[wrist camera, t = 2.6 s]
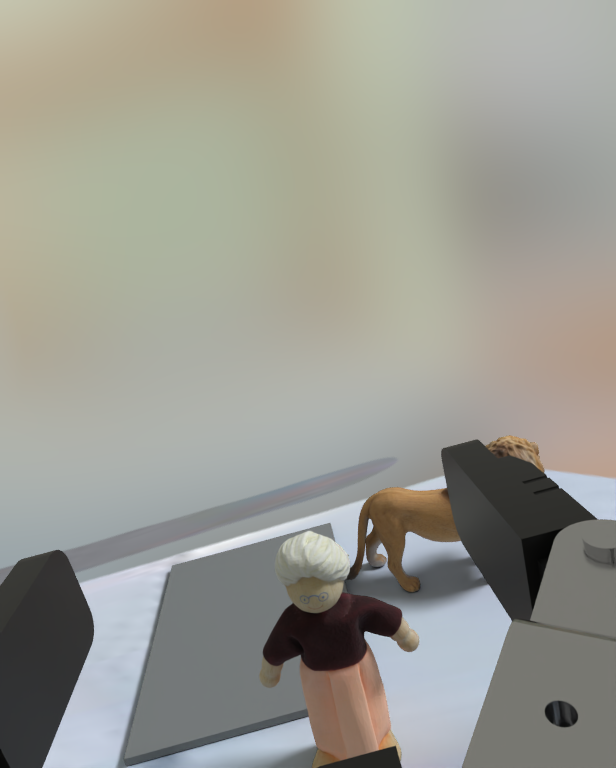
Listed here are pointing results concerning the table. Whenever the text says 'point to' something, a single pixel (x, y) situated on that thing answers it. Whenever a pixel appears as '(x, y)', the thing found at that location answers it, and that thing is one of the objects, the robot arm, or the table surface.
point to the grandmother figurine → (333, 649)
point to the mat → (216, 654)
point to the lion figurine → (418, 516)
